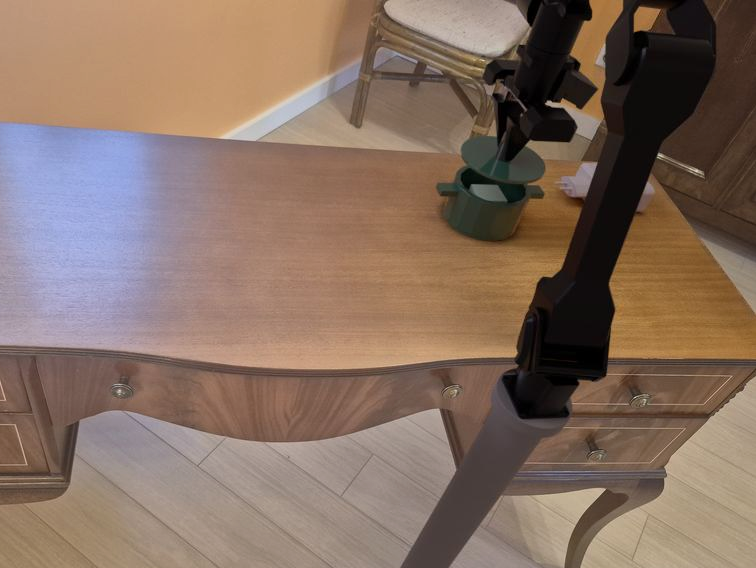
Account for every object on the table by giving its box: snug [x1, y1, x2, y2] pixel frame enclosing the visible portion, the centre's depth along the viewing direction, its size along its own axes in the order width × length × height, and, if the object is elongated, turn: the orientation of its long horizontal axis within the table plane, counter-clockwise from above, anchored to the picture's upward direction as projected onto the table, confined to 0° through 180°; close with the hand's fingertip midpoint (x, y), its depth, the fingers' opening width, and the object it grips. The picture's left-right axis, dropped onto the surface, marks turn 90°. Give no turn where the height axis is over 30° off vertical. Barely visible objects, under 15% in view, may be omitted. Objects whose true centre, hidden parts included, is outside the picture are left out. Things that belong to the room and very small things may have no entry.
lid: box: [459, 129, 547, 185], centre depth 89 cm, size 13×13×5 cm
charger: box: [554, 162, 656, 213], centre depth 105 cm, size 5×9×15 cm
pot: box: [435, 164, 546, 242], centre depth 96 cm, size 12×17×6 cm
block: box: [469, 184, 507, 203], centre depth 97 cm, size 4×4×4 cm
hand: (504, 155), depth 90 cm, fingers closed on lid, 2 cm apart
